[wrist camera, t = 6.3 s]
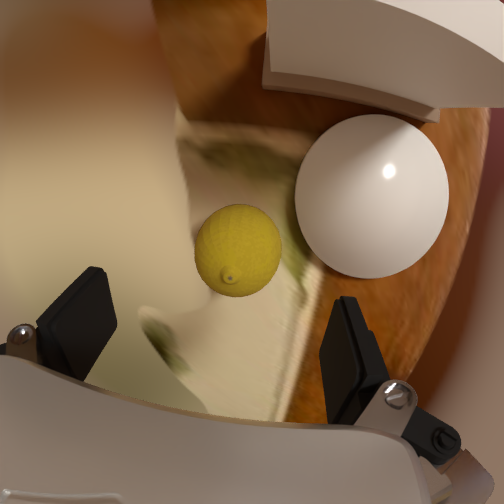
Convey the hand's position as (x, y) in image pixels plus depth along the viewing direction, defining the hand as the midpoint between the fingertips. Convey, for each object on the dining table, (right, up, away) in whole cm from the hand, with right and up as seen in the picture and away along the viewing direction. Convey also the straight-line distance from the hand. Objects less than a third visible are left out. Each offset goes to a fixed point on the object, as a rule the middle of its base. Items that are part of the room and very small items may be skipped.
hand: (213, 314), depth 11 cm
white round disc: (+11, +7, +9) cm, 16 cm away
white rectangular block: (+9, +16, +6) cm, 19 cm away
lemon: (+1, +4, +11) cm, 12 cm away
